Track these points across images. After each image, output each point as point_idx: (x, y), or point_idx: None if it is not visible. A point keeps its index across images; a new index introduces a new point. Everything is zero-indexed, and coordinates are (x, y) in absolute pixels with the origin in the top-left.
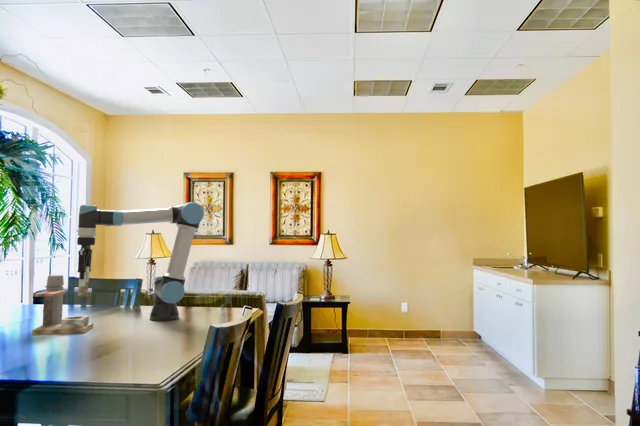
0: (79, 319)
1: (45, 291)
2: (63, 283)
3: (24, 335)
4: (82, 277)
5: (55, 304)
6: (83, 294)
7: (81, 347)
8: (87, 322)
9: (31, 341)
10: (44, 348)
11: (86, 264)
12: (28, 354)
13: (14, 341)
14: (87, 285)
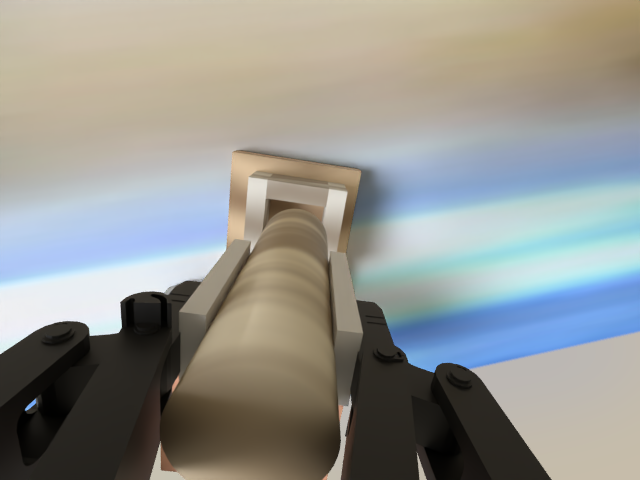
0: (344, 206)
1: None
2: None
3: None
4: (380, 323)
5: None
6: (326, 237)
7: (629, 141)
8: (272, 175)
9: (440, 318)
10: (571, 260)
11: (138, 464)
12: (629, 287)
13: (418, 361)
14: (305, 237)
